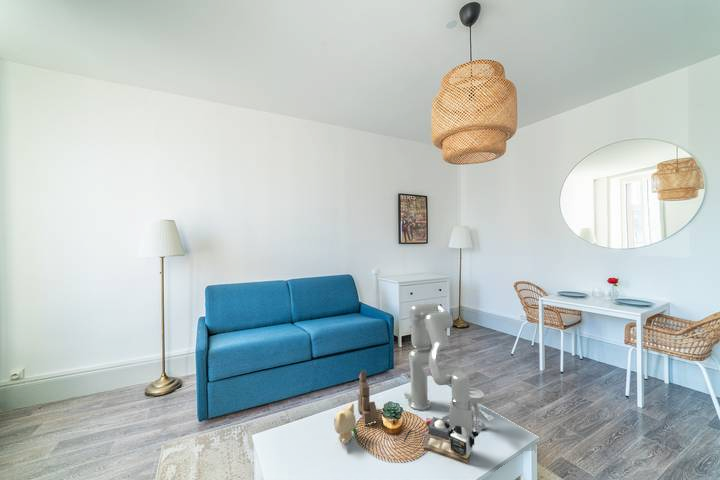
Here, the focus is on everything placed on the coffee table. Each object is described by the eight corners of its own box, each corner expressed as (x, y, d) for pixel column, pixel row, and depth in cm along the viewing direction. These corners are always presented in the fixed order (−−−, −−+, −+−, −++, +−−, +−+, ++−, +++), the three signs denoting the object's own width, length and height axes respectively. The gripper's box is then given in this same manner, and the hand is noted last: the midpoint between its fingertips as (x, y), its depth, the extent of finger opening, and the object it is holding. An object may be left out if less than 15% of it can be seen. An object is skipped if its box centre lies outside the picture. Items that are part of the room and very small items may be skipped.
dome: (433, 432, 137) (433, 422, 137) (436, 426, 142) (435, 415, 142) (444, 436, 134) (444, 425, 134) (446, 429, 139) (446, 419, 139)
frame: (400, 442, 131) (400, 441, 131) (408, 428, 140) (408, 428, 140) (423, 450, 125) (423, 449, 125) (430, 435, 135) (430, 435, 135)
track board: (425, 449, 126) (425, 446, 126) (430, 437, 134) (430, 434, 134) (467, 464, 117) (467, 461, 117) (470, 450, 125) (470, 447, 125)
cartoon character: (501, 440, 131) (500, 399, 131) (482, 446, 127) (481, 403, 127) (465, 410, 155) (465, 375, 155) (448, 415, 151) (447, 378, 151)
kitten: (347, 426, 143) (346, 396, 143) (363, 433, 137) (362, 403, 138) (327, 443, 131) (327, 411, 131) (344, 452, 125) (343, 418, 125)
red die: (426, 426, 142) (426, 421, 142) (426, 423, 144) (426, 417, 144) (432, 427, 141) (431, 421, 141) (432, 424, 144) (431, 418, 144)
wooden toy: (377, 423, 145) (376, 375, 145) (364, 426, 143) (364, 377, 143) (368, 407, 160) (368, 363, 160) (357, 409, 158) (356, 364, 158)
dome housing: (428, 434, 136) (428, 426, 136) (433, 423, 144) (433, 416, 144) (447, 440, 132) (447, 432, 132) (451, 428, 140) (451, 421, 140)
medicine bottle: (450, 451, 122) (449, 423, 123) (456, 443, 127) (456, 416, 128) (466, 459, 117) (465, 429, 118) (472, 450, 123) (471, 422, 123)
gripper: (482, 403, 122) (483, 443, 122) (442, 393, 131) (443, 430, 130) (481, 412, 116) (481, 455, 115) (438, 401, 124) (439, 441, 124)
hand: (461, 442), depth 123 cm, fingers closed on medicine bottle, 8 cm apart
